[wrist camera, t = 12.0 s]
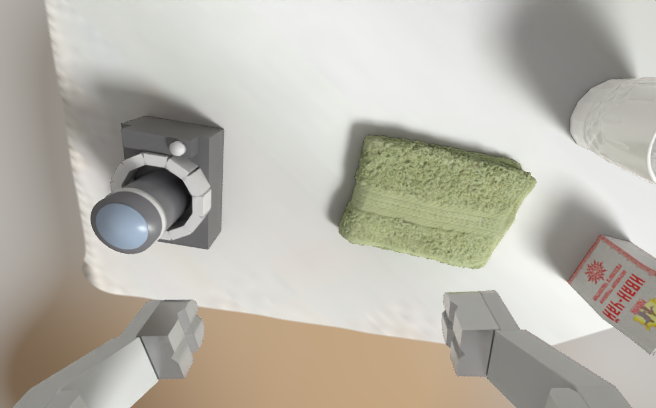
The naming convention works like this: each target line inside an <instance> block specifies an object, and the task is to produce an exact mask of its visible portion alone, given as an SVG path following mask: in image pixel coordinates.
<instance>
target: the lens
mask: <svg viewBox="0 0 656 408" xmlns="http://www.w3.org/2000/svg"><path fill="white" fill-rule="evenodd" d="M190 201H191V195H190V192H189V190H188V188H187V187H186V185H185V183H184V182H183V180H182V179H181V178H179V177H178V176H176V175H175V174H173V173H172V172H170V171H166V170H154V171H151V172H149V173H147V174H145V175H144V176H142V177H140V178H138V179H137V180H135V181H133V182H132V183H130V184H128V185H126V186H125V187H123V188H121V189H118V190H115V191H114V192H112V193H110V194H109V195H107V196H106V197H105V198H104V199H102V200H101V201H99V202H98V203H97V204H96V205H95V206H94V208H93V209H92V212H91V225H92V228H93V230H94V232H95V234H96V236H97V237H98V238H99V239H100V240H101V241H102V242H103V243H104V244H105V245H106V246H108V247H109V248H111V249H113V250H115V251H118V252H121V253H126V254H135V253H140V252H142V251H145V250H146V249H147V248H149V247H150V246H151V245H152V244H154V243H155V242H156V241H158V240H159V239H160V238H161V237H162V235H163V234H164V232H165V231H166V230H167V229H168V228H169V227H170V226H171V225H172V224H173V223H174V222H175V221H176V220H177V219H178V218H179V217H180V216H181V215H182V214H183V213H184V212H185V211H186V210H187V209H188V207H189V205H190Z"/></svg>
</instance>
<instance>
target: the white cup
mask: <svg viewBox="0 0 656 408" xmlns="http://www.w3.org/2000/svg"><path fill="white" fill-rule="evenodd" d="M570 133H571V135H572V137H573V138H574V140H575V141H576V143H577V144H578V145H579V146H581V147H583V148H585V149H587V150H590V151H592V152H593V153H595V154H597V155H598V156H599V157H600V158H602V159H604V160H606V161H608V162H609V163H611V164H613V165H616V166H617V167H619V168H621V169H623V170H625V171H627V172H629V173H631V174H634V175H636V176H638V177H640V178H642V179H644V180H646V181H648V182H650V183H652V184H654V185H656V78H653V77H643V78H639V79H634V78H625V79H610V80H607V81H605V82H603V83H601V84H599V85H597V86H595V87H593V88H591V89H590V90H589V91H588V92H587V93H586V94H585V95H584V96H583V97H582V98H581V99H580V100H579V101H578V102H577V105H576V107H575V109H574V111H573V113H572V115H571V118H570Z"/></svg>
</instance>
